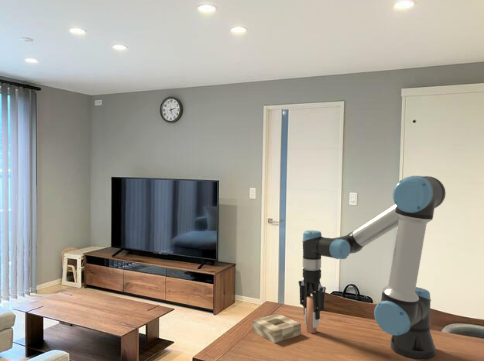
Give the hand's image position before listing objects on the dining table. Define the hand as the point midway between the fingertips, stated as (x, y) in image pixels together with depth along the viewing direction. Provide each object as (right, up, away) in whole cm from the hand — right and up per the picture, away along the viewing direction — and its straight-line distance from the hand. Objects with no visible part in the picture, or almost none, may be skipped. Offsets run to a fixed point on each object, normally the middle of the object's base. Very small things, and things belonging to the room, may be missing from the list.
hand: (311, 324), depth 157 cm
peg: (0, -3, 0) cm, 3 cm away
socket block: (-15, -3, -2) cm, 15 cm away
